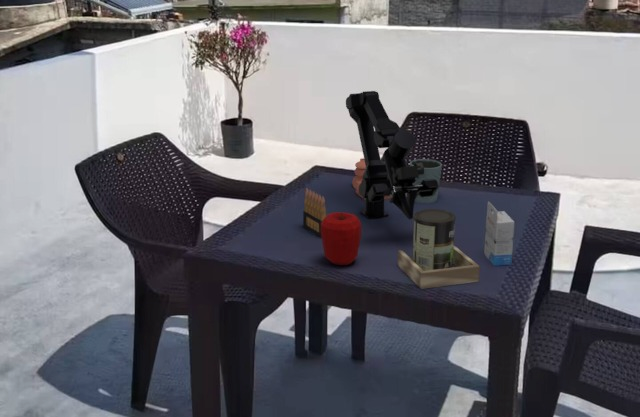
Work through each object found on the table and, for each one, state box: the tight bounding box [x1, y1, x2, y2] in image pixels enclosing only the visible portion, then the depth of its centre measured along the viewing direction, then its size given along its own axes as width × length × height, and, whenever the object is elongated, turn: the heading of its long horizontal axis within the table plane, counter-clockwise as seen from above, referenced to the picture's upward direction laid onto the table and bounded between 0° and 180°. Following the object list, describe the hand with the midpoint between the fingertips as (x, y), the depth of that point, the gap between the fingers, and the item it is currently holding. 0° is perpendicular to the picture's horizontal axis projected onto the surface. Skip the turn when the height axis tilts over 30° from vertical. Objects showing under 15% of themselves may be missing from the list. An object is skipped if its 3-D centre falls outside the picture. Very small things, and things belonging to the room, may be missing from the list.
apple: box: [321, 211, 362, 266], centre depth 200 cm, size 10×10×14 cm
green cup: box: [409, 158, 443, 205], centre depth 249 cm, size 10×10×12 cm
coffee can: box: [412, 208, 457, 271], centre depth 196 cm, size 10×10×14 cm
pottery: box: [352, 157, 391, 201], centre depth 258 cm, size 18×10×10 cm, turn 20°
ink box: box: [483, 200, 515, 267], centre depth 201 cm, size 9×5×15 cm, turn 5°
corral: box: [397, 245, 481, 290], centre depth 195 cm, size 15×15×4 cm
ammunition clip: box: [302, 187, 327, 239], centre depth 222 cm, size 11×2×12 cm, turn 30°
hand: (410, 218), depth 209 cm, fingers closed
